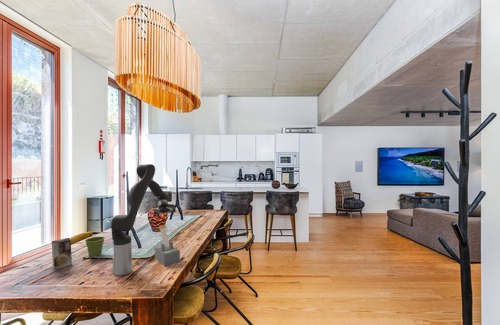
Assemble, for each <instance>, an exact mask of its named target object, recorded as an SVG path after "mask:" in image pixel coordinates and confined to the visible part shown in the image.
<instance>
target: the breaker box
mask: <svg viewBox="0 0 500 325" xmlns="http://www.w3.org/2000/svg"><path fill="white" fill-rule="evenodd" d="M169 244H170V247H169V248H164V243H160V246H157V247H154V254H155V255H154V258H155V260H157V261H158V262H159V264H162V265H163V266H164V267H166V266H169V265H173V264H176V263H179V262H181V254H180V252H181V251H180V250H179V249H178V248H176V247H175V246H174V245H173V244H174V243H173V241H169Z"/></svg>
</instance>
